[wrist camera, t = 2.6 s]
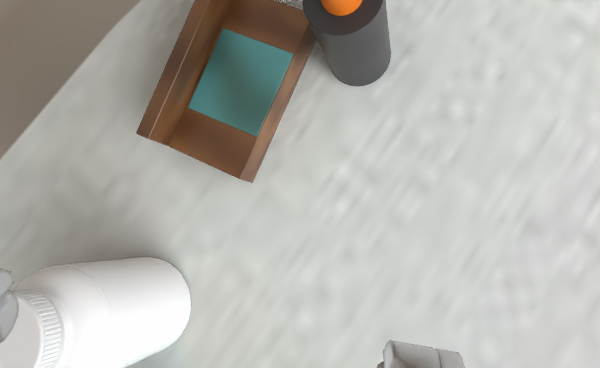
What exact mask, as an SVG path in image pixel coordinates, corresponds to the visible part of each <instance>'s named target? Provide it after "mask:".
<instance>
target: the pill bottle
mask: <svg viewBox="0 0 600 368" xmlns="http://www.w3.org/2000/svg"><path fill="white" fill-rule="evenodd" d="M11 292H12V293H13V294H14V295H15V296H16V297H17V299H18V304H19V311H18V318H17V320H16V322H15V325H14V327H13V330H12V331H11V332H10V334H9V335H8V336H7V338H6V339H5V340H4V342H2V343H0V368H125V367H127V366H129V365H131V364H134V363H136V362H138V361H140V360H142V359H144V358H146V357H149V356H151V355H153V354H155V353H157V352H159V351H162V350H164V349H165V348H167V347H168V346H170V345H171V344H172V343H174V342H175V341H176V340H177V339H178V338H179V337H180V335H181V334H182V332H183V331H184V329H185V327H186V325H187V323H188V320H189V316H190V311H191V298H190V292H189V288H188V286H187V283H186V281H185V279H184V278H183V276H182V275H181V273H180V272H179V271H178V270H177V269H176V268H175V267H174V266H172V265H171V264H169V263H168V262H166V261H164V260H161V259H157V258H150V257H141V258H129V259H118V260H107V261H96V262H84V263H73V264H62V265H54V266H49V267H45V268H43V269H40V270H38V271H36V272H34V273H32V274H31V275H29V276H28V277H26V278H25V279H24V280H22V281H21V282H20V283H19V284H18V285H17V286H16V287H15V288H14V290H12V291H11Z"/></svg>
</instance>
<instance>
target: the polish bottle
mask: <svg viewBox="0 0 600 368" xmlns="http://www.w3.org/2000/svg"><path fill="white" fill-rule="evenodd" d="M303 9H304V13H305V15H306V17H307V19H308V22H309V24H310V26H311V28H312V30H313V32H314V34H315V36H316V38H317V40H318V43H319V45H320V47H321V49H322V51H323V53H324V55H325V57H326V59H327V61H328V64H329V66H330V68H331V70H332V72H333V74H334V75H335V76H336V77H337V78H338V79H339V80H340V81H342V82H343V83H345V84H348V85H351V86H364V85H368V84H370V83H372V82H374V81H376V80H377V79H379V78H380V77H381V76H382V75H383V74H384V72H385V71H386V69H387V67H388V65H389V62H390V57H391V51H390V41H389V31H388V21H387V11H386V2H385V0H303Z"/></svg>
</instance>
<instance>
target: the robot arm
mask: <svg viewBox="0 0 600 368" xmlns="http://www.w3.org/2000/svg"><path fill="white" fill-rule="evenodd" d="M13 283H14V281H13V277H12V274H11V271H8V270H4V269H0V343H2V342H4V340H5V339H6V338H7V336H8V335H9V334H10V332H11V331H12V330H13V327H14V325H15V322H16V320H17V318H18V311H19V304H18V299H17V297H16V296H15V295H14V294H13V293H12V292H11V291H10V290H9V288H10V287H11V286H12V285H13ZM383 358H384V361H383V362H381V363H380V364H378V365H377V368H465V366H464V362H463V358H462V356H461V355H460V354H459V353H458V352H452V351H447V350H441V349H434V348H432V347H426V346H420V345H414V344H409V343H403V342H397V341H391V340H389V341H388V342H387V343H386V345H385V348H384V350H383Z"/></svg>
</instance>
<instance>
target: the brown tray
mask: <svg viewBox="0 0 600 368" xmlns="http://www.w3.org/2000/svg"><path fill="white" fill-rule="evenodd" d="M316 39H317V38H316V36H315V34H314V32H313V30H312V28H311V26H310V24H309V22H308V19H307V17H306V15H305V13H304V11H303V10H300V9H297V8H294V7H291V6H288V5H285V4H282V3H279V2H276V1H274V0H195V1H194V4H193V6H192V8H191V11H190V13H189V15H188V17H187V20H186V22H185V24H184V26H183V29H182V31H181V33H180V35H179V38H178V40H177V42H176V44H175V47H174V49H173V51H172V53H171V56H170V58H169V60H168V62H167V65H166V67H165V69H164V71H163V74H162V76H161V78H160V80H159V83H158V85H157V87H156V89H155V92H154V94H153V96H152V98H151V101H150V103H149V105H148V107H147V110H146V112H145V114H144V116H143V119H142V121H141V123H140V125H139V128H138V130H137V132H136V133H137V134H139V135H141V136H143V137H145V138H147V139H150V140H153V141H156V142H158V143H161V144H164V145H167V146H169V147H171V148H173V149H176V150H178V151H180V152H182V153H184V154H187V155H189V156H191V157H193V158H195V159H198V160H200V161H202V162H204V163H206V164H208V165H211V166H213V167H215V168H217V169H219V170H222V171H224V172H226V173H228V174H230V175H232V176H235V177H237V178H239V179H242V180H245V181H248V182H251V183H252V182H253V180H254V178H255V176H256V174H257V171H258V169H259V167H260V165H261V162H262V160H263V158H264V156H265V153H266V151H267V149H268V147H269V144H270V142H271V140H272V138H273V135H274V133H275V131H276V129H277V126H278V124H279V122H280V120H281V117H282V115H283V113H284V111H285V108H286V106H287V104H288V102H289V99H290V97H291V95H292V93H293V90H294V88H295V86H296V84H297V81H298V79H299V77H300V75H301V72H302V70H303V68H304V66H305V63H306V61H307V59H308V57H309V54H310V52H311V50H312V48H313V45H314V43H315V41H316Z"/></svg>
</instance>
